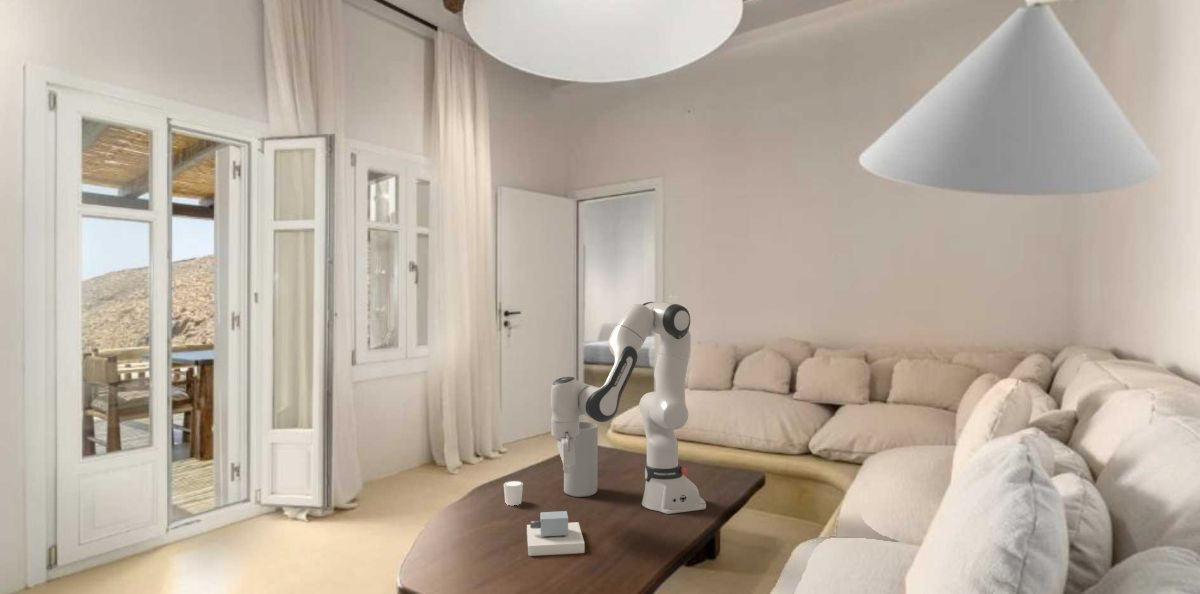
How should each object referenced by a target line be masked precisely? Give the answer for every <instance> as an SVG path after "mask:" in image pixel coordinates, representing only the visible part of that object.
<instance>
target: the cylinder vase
mask: <svg viewBox="0 0 1200 594" xmlns="http://www.w3.org/2000/svg"><path fill="white" fill-rule="evenodd" d="M598 431H599V425H598V424H597V423H595V422H590V421H579V434H578V435H577V436H575V438H576V439H575V440H573V441H574V447H575V465H574V466H570V473H567V474H565V473H564V472H563V492H564V493H565V494H566V495H568V496H570V497H573V498H574V497H576V498H583V497H591V496H593V495H595V494H596V493H597V491H598V456H599V455H598V450H599V449H598V447H599V446H598V442H599V441H598V440H599V439H598V437H599V435H598V433H599V432H598Z"/></svg>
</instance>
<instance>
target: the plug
mask: <svg viewBox="0 0 1200 594" xmlns="http://www.w3.org/2000/svg"><path fill="white" fill-rule="evenodd" d="M539 515H540V516H539V518H540V520H530V524H529V525H530V528H540V530H541V537H542V536H547V538H549V536H556V537H561V535H568V523H569V517H568V511H567V510H563V511H560V510H559V511H558V510H557V511H541V512H540V513H539Z"/></svg>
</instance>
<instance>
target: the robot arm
mask: <svg viewBox="0 0 1200 594" xmlns="http://www.w3.org/2000/svg"><path fill="white" fill-rule="evenodd" d="M690 315H691V314H690V312H689V310H688V308H686V307H685V306H683V305H681V304H677V303H671V302H665V301H661V302H656V301H655V302H654V301H648V302H644V303H643V304H642V303H641V304H640V303H636V304H633V305H631V306H630V307H629V308H628V309H627V310H626V311H625V312H624V314H623V315H622V316H621V318H620V319H619V320H618V321H617V323H616V324H615V326H614V328H613V329H612V332H611V333H610V335H609V337H608V341H607V343H608V344H607V345H608V348H609V351H610V353H611V354H612V355H613V356H614V363H613V366H612V368H611V370H610V372H609V374H608V376H607V377H606V380H605V382H604V384H603V385H602V386H600V387H598V386H595V385H591V384H588V383H585V382H582V381H579V380H578V379H577V378H575V377H573V376H564V377H561V378H558V379H555V380H554V381H553V382H552V384H551V387H550V409H551V418H550V429H551V431H550V432H551V436H553V437H554V438H555V441H556V445H557V451H558V454H559V456H560V459H561V462H562V470H563V474H564V473H565V474H567V473H570V466H574V465H575V447H574V441H573V440H575V439H576V438H575V436H577V435H578V434H579V422H580V420H579V419H580V416H581V415H584V416H587V417H589V418H591V419H593V420H594V421H596V422H599V423H606V422H609V421H611V420H612V419H613V418H615V416H616V414H617V413H618V411H619V407H620V402H621V397H622V395H623V392H624V390H625V388H626V387H627V384H628V381H629V380H630V378H631V375H632V373H633V371H634V369H635V367H636V364H637V363H638V362H637V361H638V356H639V355H638V354H640V353H639V352H640V350H641V348H642V346H643V345H644V343H645V342H646V340H647V338H648V336H649V334H650V333H655V334H659V335H660V344H659V347H658V351H657V356H656V357H657V358H656V362H655V368H654V371H653V372H654V373H653V376H654V380H655V391H650V392H647V393H645V394H643V396H641V398H640V400H639V404H638V408H639V410H640V413H641V417H642V421H643V427H644V434H645V439H646V441H645V442H646V463H645V468H644V479H645V486H644V493H643V497H642V501H641V505H642V507H644V508H646V509H649V510H652V511H656V512H660V513H663V514H667V515H668V514H669V515H670V514H677V513H678V514H679V513H687V512H693V511H695V512H696V511H700V510H701V511H702V510H706V508H707V504H706V503H707V502H706V501H705V500H704V499H703V498H702V497H701V496H700V493H699V492H700V491H699V489H698V487H697V485H695V483H694V482H692V481H691V480H690V479H689V478H688V477H686V476H685V475H687V474H688V469H687V468H685V467H684V466H682V465H681V464H679V443H678V439H677V437H676V433H675V430H680V429H682V427H684V426H686V423H687V422H688V421H689V420H688V419H689V410H688V408H687V405H686V392H685V391H686V388H685V387H686V386H685V385H686V384H685V383H686V375H687V370H688V364H689V361H690V360H689V359H690V354H691V345H692V344H691V343H692V341H691V340H692V339H691V337H692V336H691V332H690V331H689V330H690V325H691V316H690Z"/></svg>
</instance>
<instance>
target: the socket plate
mask: <svg viewBox="0 0 1200 594" xmlns="http://www.w3.org/2000/svg"><path fill="white" fill-rule="evenodd" d="M526 540H527V541H526V542H527V553H528V554H527V556H529V557H532V556H533V557H534V556H550V555H551V556H552V555H554V556H555V555H569V554H571V555H573V554H584V553H585V552H586V551H585V543H586V542H585V540H584V537H583V534H582V530H581V526H580V522H579V521H578V522H576V521H575V522H568V535H561V537H556V536H549V538H547V536H542V537H541V530H540V528H530V524H526Z"/></svg>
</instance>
